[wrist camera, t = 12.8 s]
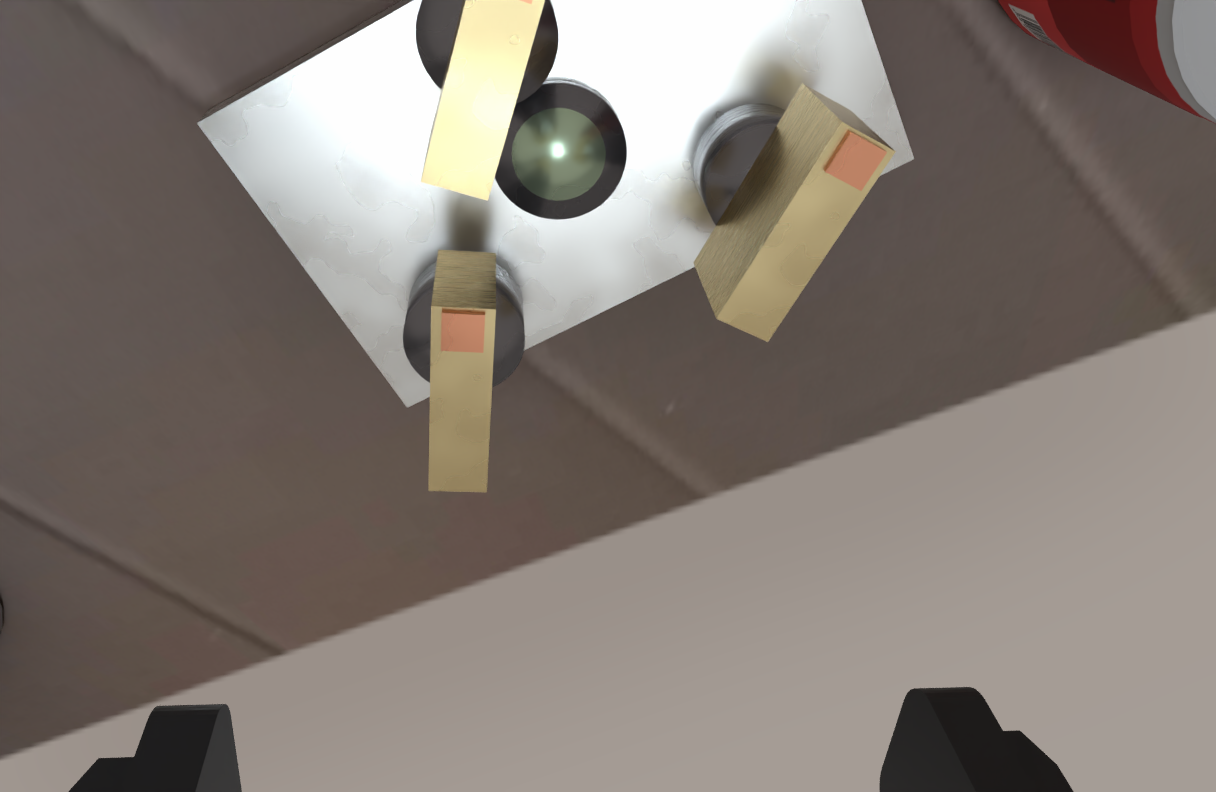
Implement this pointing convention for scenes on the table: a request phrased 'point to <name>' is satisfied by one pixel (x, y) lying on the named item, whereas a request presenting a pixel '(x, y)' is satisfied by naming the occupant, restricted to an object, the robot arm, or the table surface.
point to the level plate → (531, 153)
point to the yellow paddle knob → (480, 81)
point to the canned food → (1134, 42)
